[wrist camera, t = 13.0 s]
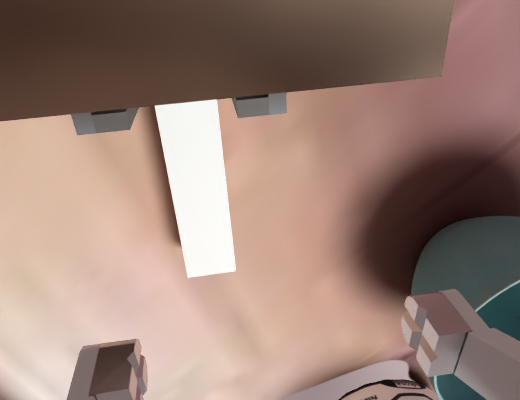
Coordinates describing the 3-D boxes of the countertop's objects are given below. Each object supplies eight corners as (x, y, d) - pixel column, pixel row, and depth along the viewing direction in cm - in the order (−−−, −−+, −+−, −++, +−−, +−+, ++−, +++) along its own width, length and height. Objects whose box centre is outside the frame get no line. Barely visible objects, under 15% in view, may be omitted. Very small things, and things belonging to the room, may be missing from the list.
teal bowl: (500, 313, 47) (589, 411, 37) (356, 320, 44) (407, 429, 34) (571, 176, 39) (714, 252, 28) (398, 173, 35) (485, 257, 25)
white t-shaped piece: (125, 52, 27) (109, 70, 22) (234, 43, 28) (244, 58, 23) (168, 251, 36) (164, 298, 31) (251, 240, 37) (260, 283, 32)
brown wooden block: (-3, -36, 24) (-267, -49, 10) (321, -57, 26) (468, -92, 12) (44, 102, 28) (-98, 225, 14) (319, 75, 30) (427, 161, 16)
